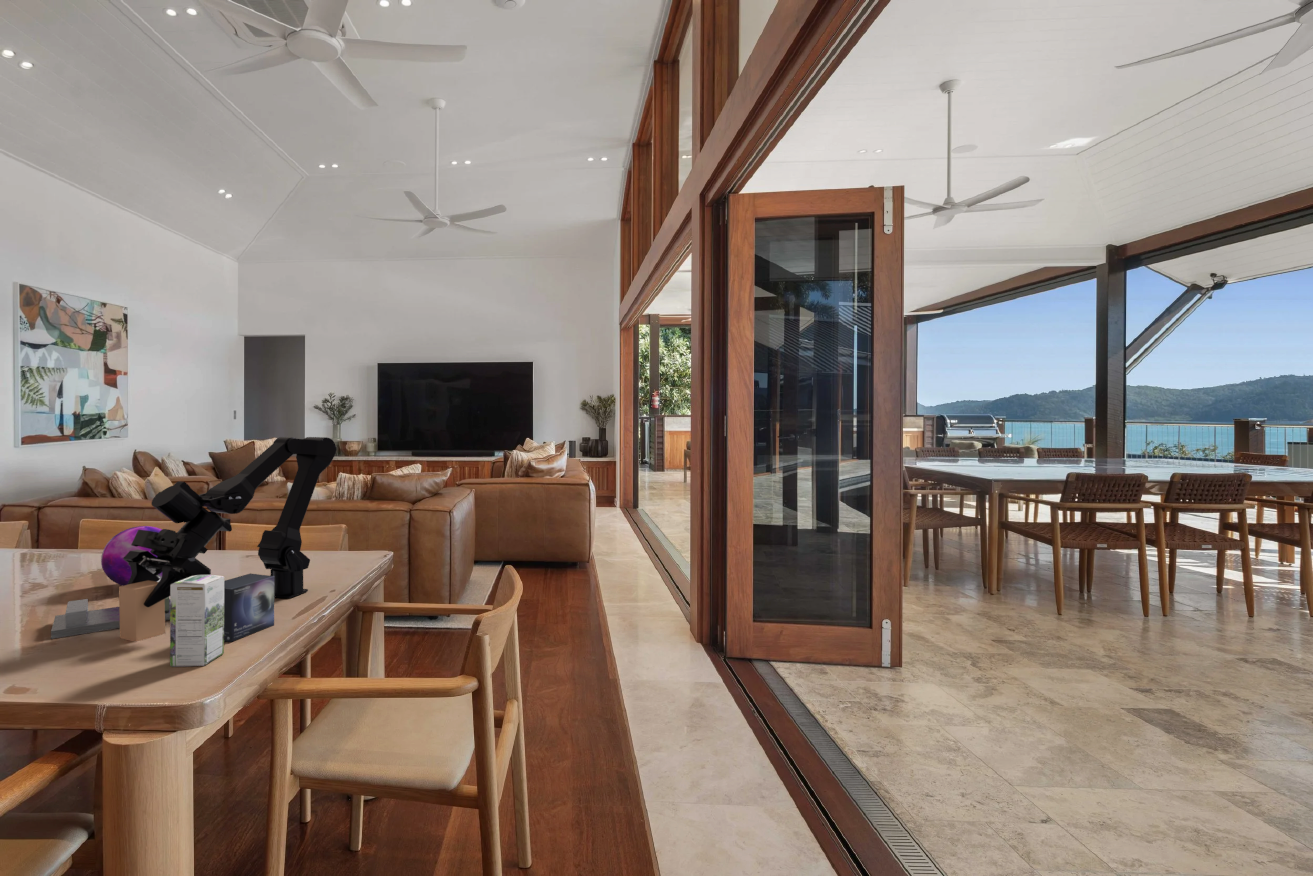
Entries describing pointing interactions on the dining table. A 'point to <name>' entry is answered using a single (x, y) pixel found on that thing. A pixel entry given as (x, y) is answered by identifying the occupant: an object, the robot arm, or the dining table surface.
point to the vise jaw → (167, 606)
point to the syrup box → (196, 620)
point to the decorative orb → (122, 554)
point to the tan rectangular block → (140, 612)
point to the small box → (248, 605)
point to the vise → (86, 619)
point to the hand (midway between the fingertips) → (134, 604)
